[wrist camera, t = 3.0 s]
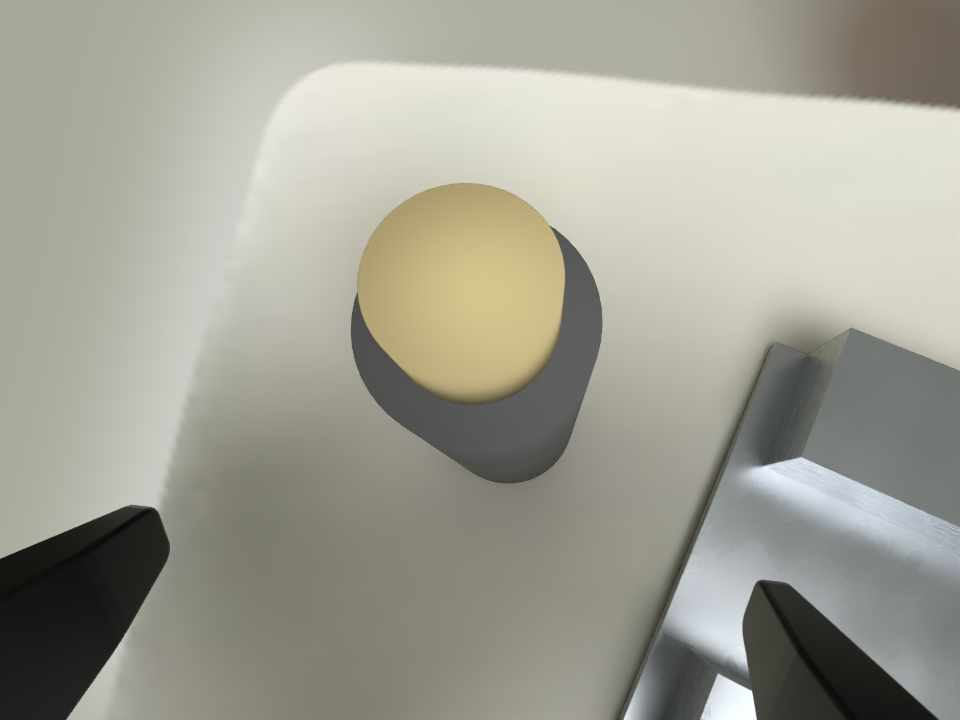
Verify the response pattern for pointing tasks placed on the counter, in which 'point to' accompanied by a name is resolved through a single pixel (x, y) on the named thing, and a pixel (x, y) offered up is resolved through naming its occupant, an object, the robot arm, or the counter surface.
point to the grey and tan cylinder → (477, 328)
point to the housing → (824, 529)
